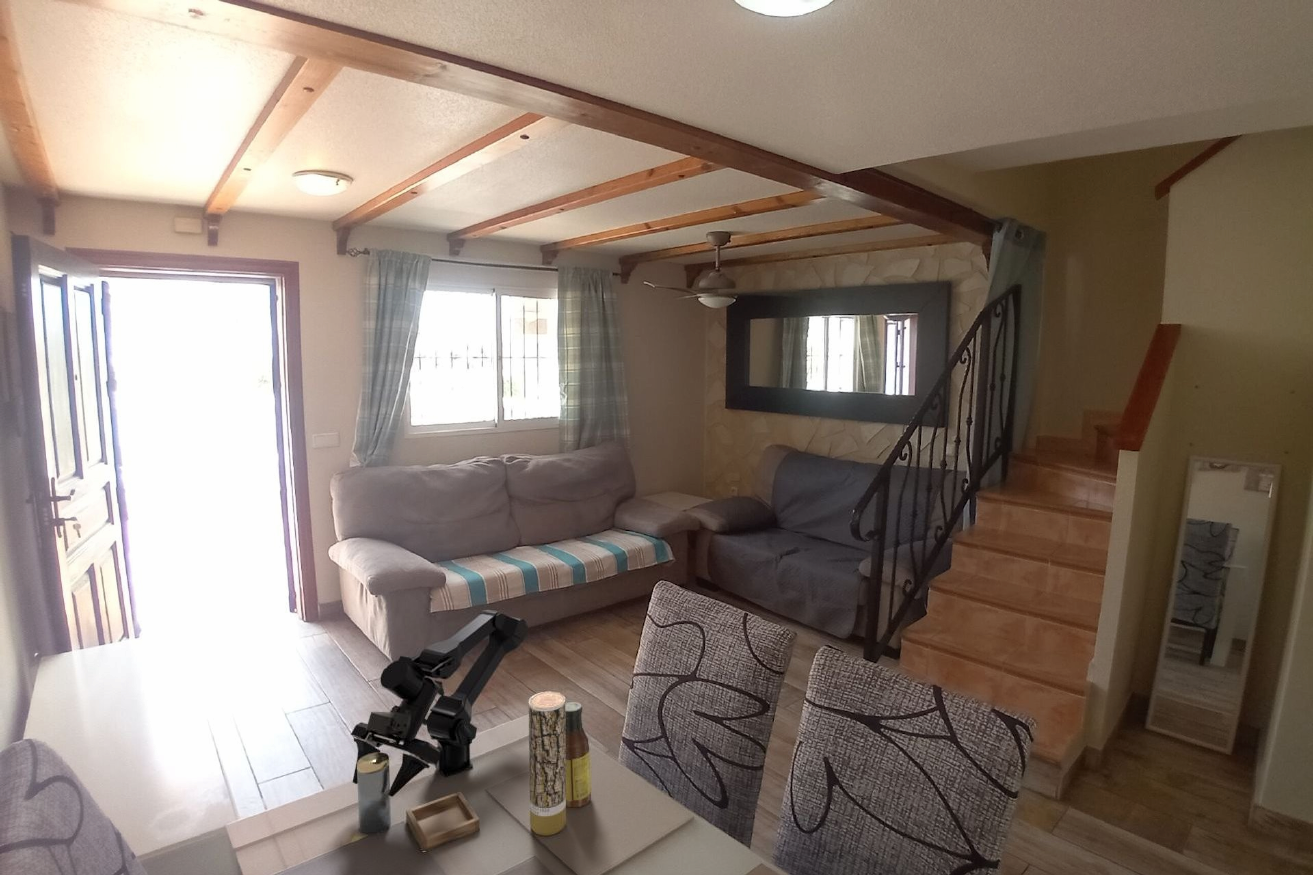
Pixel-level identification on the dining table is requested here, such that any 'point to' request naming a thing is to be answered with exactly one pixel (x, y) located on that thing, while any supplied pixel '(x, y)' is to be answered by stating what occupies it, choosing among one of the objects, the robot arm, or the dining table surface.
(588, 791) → the sauce bottle
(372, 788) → the tea tin
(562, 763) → the paper tube
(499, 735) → the dining table surface
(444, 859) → the dining table surface
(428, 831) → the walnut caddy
